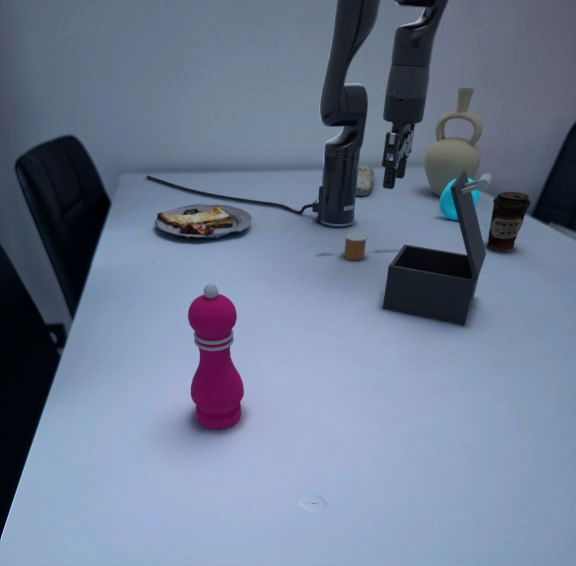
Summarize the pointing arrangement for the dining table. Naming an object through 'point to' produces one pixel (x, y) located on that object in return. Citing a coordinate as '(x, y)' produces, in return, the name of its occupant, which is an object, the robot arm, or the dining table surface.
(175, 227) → the food plate
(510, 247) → the coffee cup
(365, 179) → the long grey stone
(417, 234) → the dining table surface
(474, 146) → the vase
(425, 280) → the dark hinged chest
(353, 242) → the coffee pod
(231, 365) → the pepper mill
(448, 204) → the donuts
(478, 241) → the lid
